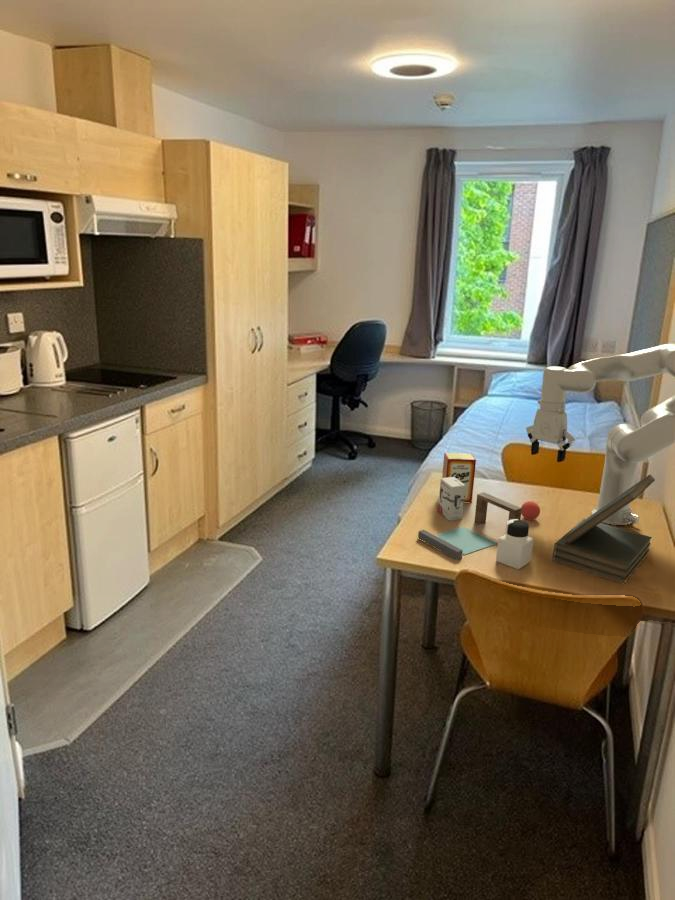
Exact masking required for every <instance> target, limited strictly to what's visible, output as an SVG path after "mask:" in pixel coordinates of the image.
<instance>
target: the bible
mask: <svg viewBox="0 0 675 900" xmlns="http://www.w3.org/2000/svg"><path fill="white" fill-rule="evenodd" d="M655 481H656V478H654V477H653V475H651V474H648V475H647V476H646V477H643V478H642V479H641V480H640V481H638V482H637V483H634V486H632V487H631V488H630V489H628V490H627V491H625V492H624V493H622V494H621V495H619V496H618V497H617V498H615V499H614V500H612V501H611V502H609V503H608V504H607V505H605V506H604V507H602V508H601V509H599V510H598V511H596V512H595V513H594V514H592V515H591V514H590V515H589V516H588V517H586V518H583V519H582V520H581V521H579V522H578V523H577V524H576V525H575V526H574V527H572V528H571V529H570V530H569V531H568V532H567V533H565V534H564V535H563V536H562V537H560V538H559V539H558V540H557V541H556V542H554V547H553V554H552V559H551V562H552V563H557V564H559V565H563V566H567V567H570V568H573V569H575V570H579V571H582V572H585V573H588V574H591V575H594V576H596V577H600V578H603V579H607V580H609V579H610V580H609V581H612V580H613V581H612V582H615V581H617V582H616V583H618V582H621V583H624V584H625V583H626V582H627V581H628V580H629V578H630V577H631V576H632V575H633V574H634V572H636V570H637V569H638V568H639V566H640V565H641V564H642V563H643V562H644V560H645V559H646V558H645V557H647V556H648V553H649V552H650V546H651V544H652V543H651V540H652V536H649V535H644V534H642V533H639V532H638V533H637V532H635V531H631V530H627V529H623V528H620V527H616V526H614V525H609V524H605V523H602V521H604V520H605V519H607V518H608V517H610V516H611V515H612V514H614V513H615V512H617V511H618V510H620V509H621V508H623V507H624V506H626V505H627V504H629V503H630V504H631V503H632V502H633V501H635V500H636V499H637V498H638V497H639V496H640V495H641V494H643V492H645V490H646V489H647V488H648V487H650V486H651V485H652V484H653V483H654V482H655ZM646 555H647V556H646ZM644 558H645V559H644ZM643 559H644V560H643ZM641 562H642V563H641ZM640 563H641V564H640ZM639 564H640V565H639ZM636 568H637V569H636ZM635 569H636V570H635ZM632 573H633V574H632ZM631 574H632V575H631ZM630 575H631V576H630ZM627 579H628V580H627ZM626 580H627V581H626ZM625 581H626V582H625ZM621 583H620V584H621Z"/></svg>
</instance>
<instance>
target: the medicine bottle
mask: <svg viewBox="0 0 675 900" xmlns="http://www.w3.org/2000/svg"><path fill="white" fill-rule="evenodd" d="M529 531H530V524H529V522H527V521H525V520H522V519H520V520H519V519H512V520H509V521H508V520H507V521H506V524H505V532H504V535H502V536H500V537H498V539H497V543H498V544H497V547H496V548H497V549H496V555H495V561H496V562H498V563H500V564H502V565H505V566H508V567H511V568H514V569H516V570H520V569H521V568H523V567H524V566H526V565H528V564H529V563H530V562H531V559H532V553H533V546H534V538H533V537H530V536H529Z"/></svg>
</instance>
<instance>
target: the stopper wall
mask: <svg viewBox="0 0 675 900" xmlns="http://www.w3.org/2000/svg"><path fill="white" fill-rule="evenodd" d="M417 535H418V536H417V539H418V538H419V539H421V540H423V541H425V542H426V543H425V542H424V543H425V544H427V543H428V544H430V545H432V546H434V547H435V548H434V547H433V548H434V549H436V548H437V549H436V550H438V549H439V550H441V551H442V552H441V551H440V552H441V553H443V552H444V553H443V554H445V553H446V554H445V555H447V554H448V555H450V556H452V557H453V559H454V558H455V559H454V560H456V559H458V560H461V559H462V558H463V554H462V552H463V550H461V549H459V548H457V547H456V546H454V545H452V544H450V543H448V542H446V541H444V540H442V539H440V538H438V537H437V536H435V535H436V534H433V533H431V532H429V531H427V530H425V529H421V530H419V531H418V534H417ZM419 539H418V540H419ZM421 540H420V541H421ZM423 541H422V542H423ZM428 544H427V545H428ZM430 545H429V546H430ZM432 546H431V547H432ZM439 550H438V551H439ZM448 555H447V556H448ZM450 556H449V557H450ZM452 557H451V558H452Z"/></svg>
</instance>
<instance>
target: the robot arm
mask: <svg viewBox="0 0 675 900" xmlns="http://www.w3.org/2000/svg"><path fill="white" fill-rule="evenodd" d="M542 374H543V375H542V384H541V395H540V399H538V400H537V404H538V405H539V408H537V410H536V412H535V416H534V419H533V425H529V426H526V427H525V431H526V434H527V437H528V439H529V442H530V443H531V446H530V451H531V453H530V454H531V456H535V455H538V454H539V453H540V441H541V442H546V443H549V444H553V445H557V447H558V448H559V449H558V450H557V455H556V456H557V458H556V462H557V463H561V462H562V463H563V462H564V461H565V459H566V454H567V450H568V449H569V448H571V447H572V445H573V444H574V442H575V441H576V438H575V437H574V436H573V435H571V433H569V432H568V416H567V411H566V402H567V394H568V392H571V393H577V394H586V393H587V394H588V393H589V392H591V391H592V390H593V389H595V387H596V384H597V383H599V382H603V381H621V382H633V381H638V380H641V379H647V378H650V377H655V376H659V375H664V374H668V375H670V376H672V377H674V378H675V343H665V344H659V345H657V346H652V347H649V348H645V349H641V350H637V351H632V352H629V353H624V354H616V355H612V356H603V357H597V358H593V359H589V360H585V361H581V362H578V363H574V364H572V365H570V366H569V367H568V368H566V367H563V366H558V365H557V366H553V365H552V366H547V367H545V368H544V369H543V373H542ZM640 425H641V426H640V427H638V428H636V427H635V426H634V425H632V424H629V423H619V424H616V425H614V426H613V427H611V429H610V430H609V432H608V433H607V436H606V442H605V459H604V465H603V471H602V477H601V484H600V487H599V488H600V489H599V495H598V496H599V497H598V502H597V507H596V508H594V509H592V510H591V512H590V513H591V514H590V516H591V515H592V514H594V513H595V512H596V511H598V510H599V509H601V508H602V507H604V506H605V505H607V504H608V503H609V502H611V501H612V500H614V499H615V498H617V497H618V496H619V495H621V494H622V493H624V492H625V491H627V490H628V489H630V488H631V487H632V486H634V485H635V480H636V476H637V475H636V474H637V468H638V463H640V462H643V461H646V460H647V459H649V458H651V457H652V456H654V455H657V454H658V453H659V452H661V451H663V450H665V449H666V448H669V447H670V446H672V445H673V444H675V394H673V395H672V396H670V397H669V398H667V399H666V400H664V401H662V402H659V404H657V405H655V406H653V407H651V408H650V409H648V410H646V411H645V412H644V413H643V414H642V415H641V418H640ZM566 440H567V442H566ZM639 521H640V516H639V515H637V514H634V513H633V508H632V507H631V502H630V503H629V504H627V505H626V506H624V507H623V508H621V509H620V510H618V511H617V512H615V513H614V514H612V515H611V516H610V517H608V518H607V519H605V520H604V521H602V522H601V523H602V524H605V523H606V525H609V524H611V525H610V526H616V525H625V526H628V525H627V524H629V525H631V524H632V523H633V524H638V523H639ZM631 522H632V523H631ZM630 523H631V524H630Z"/></svg>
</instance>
